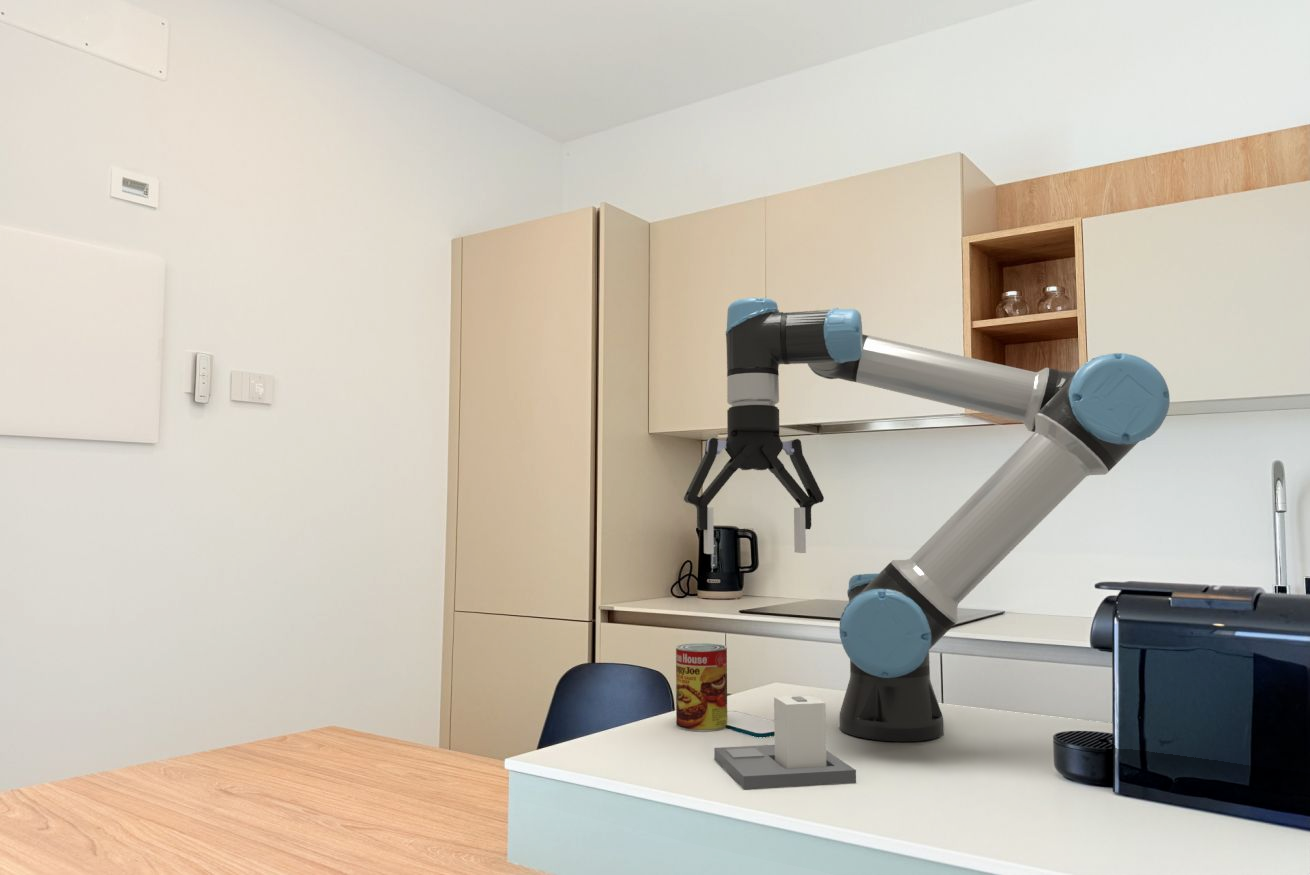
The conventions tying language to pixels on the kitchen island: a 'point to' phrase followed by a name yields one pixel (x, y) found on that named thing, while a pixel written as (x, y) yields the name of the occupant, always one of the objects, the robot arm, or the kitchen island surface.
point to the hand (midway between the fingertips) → (754, 553)
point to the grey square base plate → (778, 769)
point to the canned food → (701, 687)
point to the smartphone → (750, 724)
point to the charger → (800, 732)
